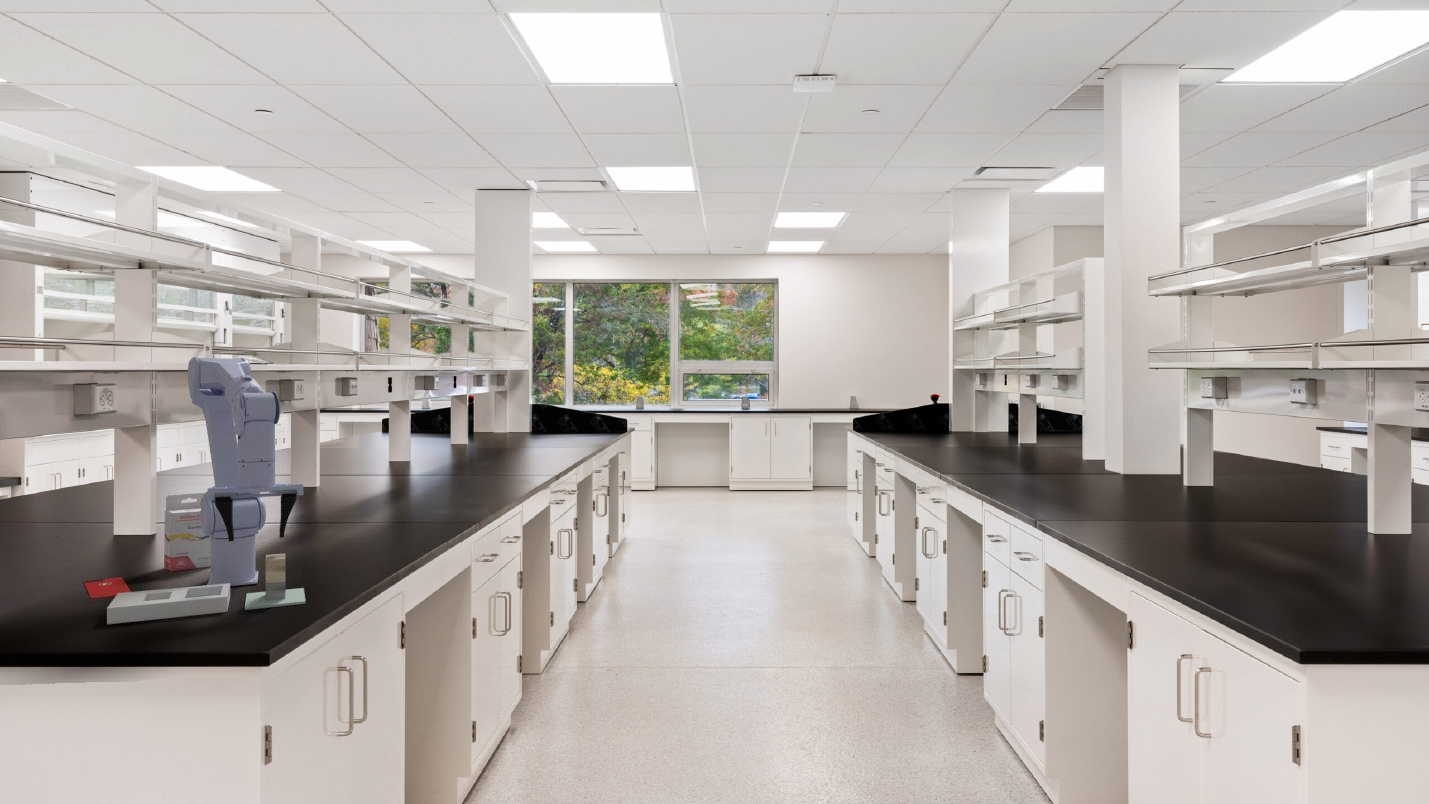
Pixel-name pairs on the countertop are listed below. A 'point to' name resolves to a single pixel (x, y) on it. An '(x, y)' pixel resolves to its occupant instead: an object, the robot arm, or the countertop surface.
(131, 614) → the white slotted tray
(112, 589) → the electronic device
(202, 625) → the countertop surface
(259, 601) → the mat
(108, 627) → the countertop surface
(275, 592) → the plug
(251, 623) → the countertop surface
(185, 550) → the ink cartridge box
